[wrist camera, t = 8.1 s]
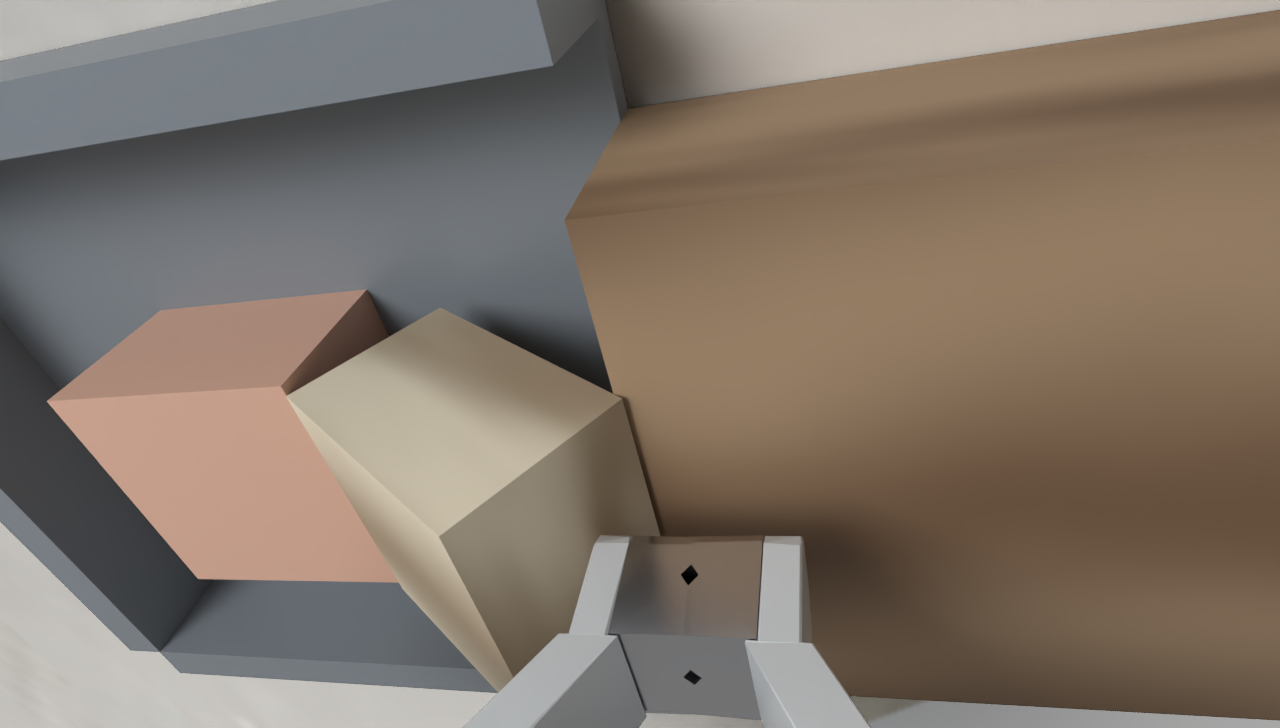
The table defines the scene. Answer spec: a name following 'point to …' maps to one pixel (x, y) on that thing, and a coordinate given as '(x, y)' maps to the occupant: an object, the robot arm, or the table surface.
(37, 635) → the table surface
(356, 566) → the salmon pink square block
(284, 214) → the tray
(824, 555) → the brown wooden slab
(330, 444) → the cream wooden block
